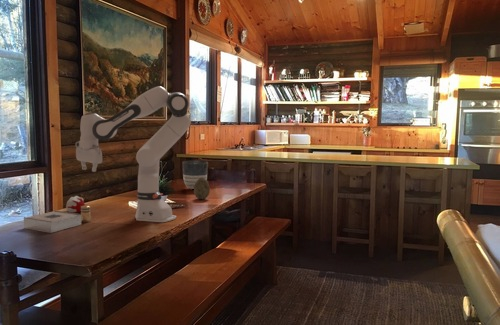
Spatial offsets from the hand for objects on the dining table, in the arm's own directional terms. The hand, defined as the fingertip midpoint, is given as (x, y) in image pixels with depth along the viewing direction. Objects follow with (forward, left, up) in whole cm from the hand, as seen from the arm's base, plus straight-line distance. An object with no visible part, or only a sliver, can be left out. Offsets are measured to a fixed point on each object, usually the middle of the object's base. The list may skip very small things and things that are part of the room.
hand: (89, 170), depth 220 cm
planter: (+4, -112, -26) cm, 115 cm away
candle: (+18, -8, -26) cm, 32 cm away
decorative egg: (-22, -78, -26) cm, 85 cm away
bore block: (+4, +20, -26) cm, 33 cm away
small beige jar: (-2, +5, -26) cm, 26 cm away
